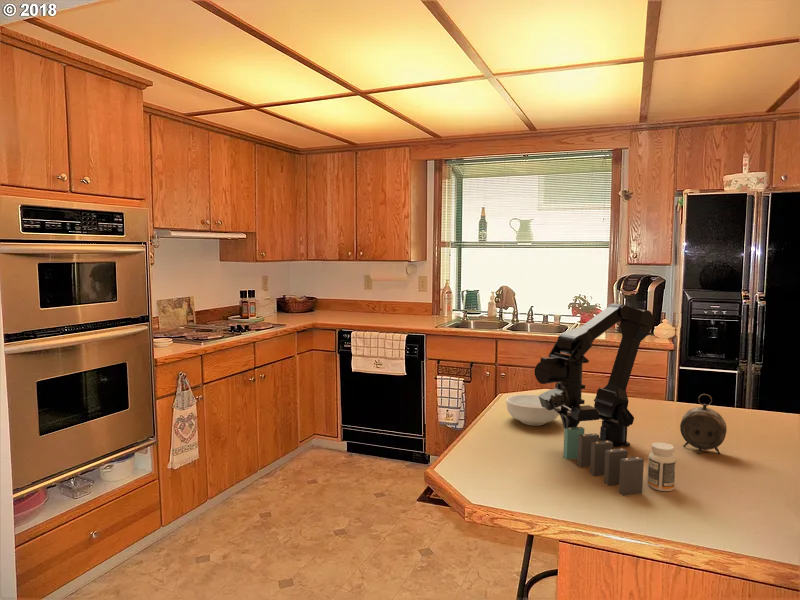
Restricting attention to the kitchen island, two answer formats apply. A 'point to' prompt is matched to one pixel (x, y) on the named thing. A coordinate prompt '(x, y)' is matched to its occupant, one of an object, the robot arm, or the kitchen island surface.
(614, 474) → the domino
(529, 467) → the kitchen island surface
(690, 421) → the alarm clock
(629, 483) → the domino
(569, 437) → the domino
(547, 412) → the cereal bowl
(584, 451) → the domino
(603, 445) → the domino
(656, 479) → the pill bottle
